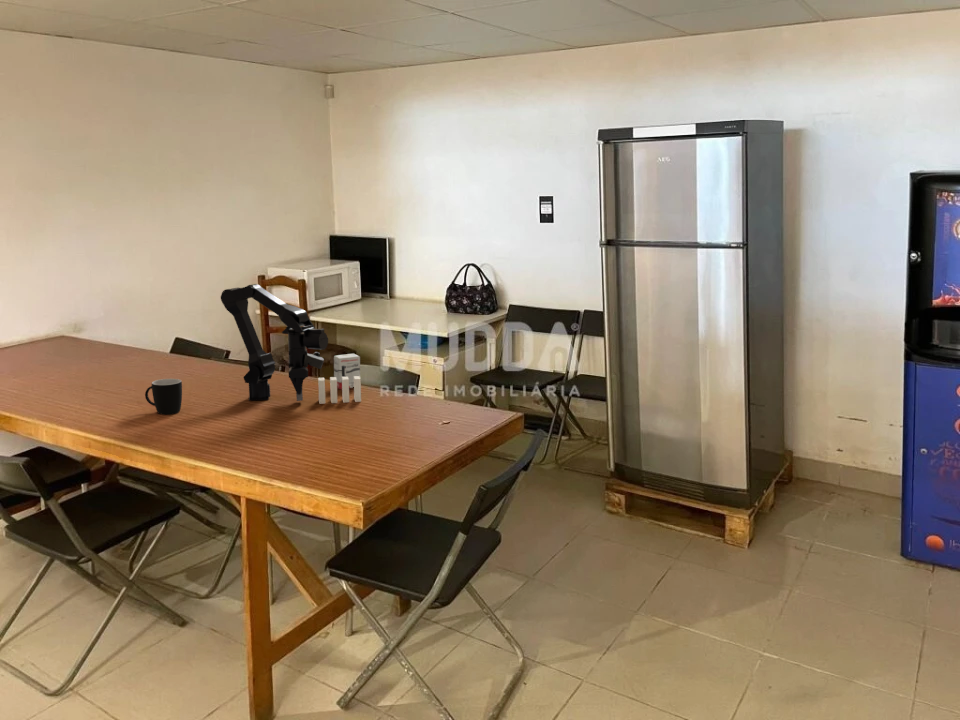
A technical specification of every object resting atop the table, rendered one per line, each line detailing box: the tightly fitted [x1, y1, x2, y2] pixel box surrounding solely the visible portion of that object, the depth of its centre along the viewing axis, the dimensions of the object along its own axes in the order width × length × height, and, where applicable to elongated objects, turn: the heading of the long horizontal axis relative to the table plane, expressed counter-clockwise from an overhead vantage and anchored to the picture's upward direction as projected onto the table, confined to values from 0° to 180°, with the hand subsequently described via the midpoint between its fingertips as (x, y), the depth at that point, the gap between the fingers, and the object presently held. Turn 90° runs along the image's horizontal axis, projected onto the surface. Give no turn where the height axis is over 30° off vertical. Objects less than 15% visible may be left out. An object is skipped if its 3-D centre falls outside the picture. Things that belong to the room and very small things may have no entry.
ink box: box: [333, 353, 361, 390], centre depth 285 cm, size 8×5×12 cm, turn 124°
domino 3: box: [329, 376, 338, 404], centre depth 265 cm, size 2×4×8 cm, turn 14°
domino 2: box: [317, 377, 326, 405], centre depth 264 cm, size 2×4×8 cm, turn 14°
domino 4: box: [341, 377, 350, 404], centre depth 266 cm, size 2×4×8 cm, turn 14°
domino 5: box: [353, 375, 362, 403], centre depth 267 cm, size 2×4×8 cm, turn 14°
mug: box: [144, 378, 183, 416], centre depth 249 cm, size 12×9×10 cm
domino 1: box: [295, 389, 304, 402], centre depth 262 cm, size 2×4×8 cm, turn 13°
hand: (299, 392), depth 262 cm, fingers closed on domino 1, 4 cm apart
